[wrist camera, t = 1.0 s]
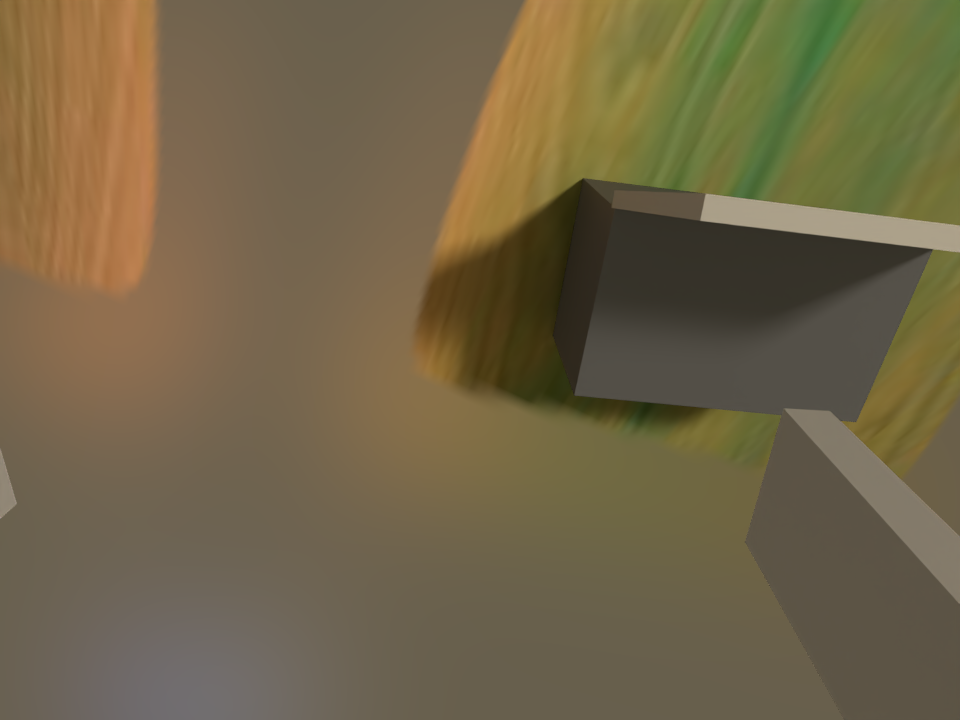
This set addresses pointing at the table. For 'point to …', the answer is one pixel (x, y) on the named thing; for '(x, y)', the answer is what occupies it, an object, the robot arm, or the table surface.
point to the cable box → (726, 311)
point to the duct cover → (792, 218)
